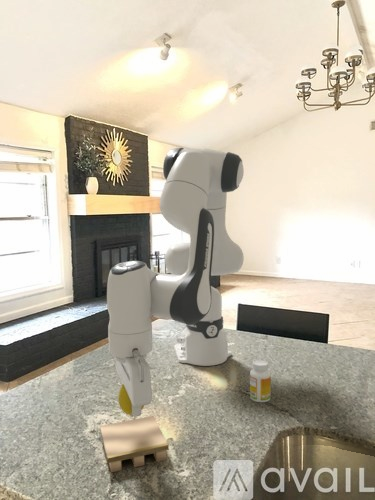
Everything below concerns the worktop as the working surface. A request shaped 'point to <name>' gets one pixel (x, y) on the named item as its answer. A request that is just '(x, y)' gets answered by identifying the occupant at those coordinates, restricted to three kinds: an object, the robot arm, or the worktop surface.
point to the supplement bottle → (260, 381)
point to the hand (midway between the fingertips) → (132, 406)
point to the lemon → (125, 401)
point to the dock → (133, 441)
